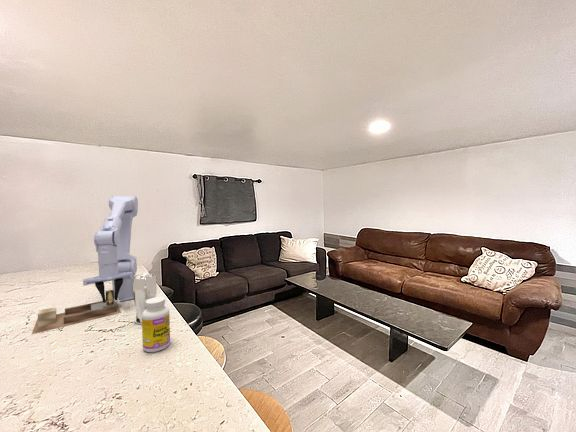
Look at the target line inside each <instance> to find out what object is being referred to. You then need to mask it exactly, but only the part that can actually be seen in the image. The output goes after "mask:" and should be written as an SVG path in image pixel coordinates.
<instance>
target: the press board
mask: <svg viewBox="0 0 576 432" xmlns="http://www.w3.org/2000/svg"><path fill="white" fill-rule="evenodd" d="M102 302H103V300H100V301H96V302H91V303H86V304H80V305H76V306H72V307H66V308H64V312H62V313H56V314H57V320H56V323H54V324H50V325H45V326H41V327H38V318H36V322H35V325H34V327H33V328H32V329H33V330H32V332H31V335H35V334H40V333H44V332H48V331H51V330H56V329H59V328H64V327H69V326H72V325H77V324H80V323H85V322H89V321H93V320H97V319H102V318H106V317H109V316H110V317H111V316H115V315H117V314H118V315H119V314H121V313H122V312H121V309H120V306H119V304H118V301H115V303H116V305H115V306H111V307H106V308H102V309H97V310H93V311H91V305H92V304H97V303H102Z"/></svg>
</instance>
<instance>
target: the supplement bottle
mask: <svg viewBox="0 0 576 432" xmlns="http://www.w3.org/2000/svg"><path fill="white" fill-rule="evenodd" d="M165 304H166V298H165V297H163V296H156V297H154V298H150V299H148V300H146V307H147V309H146V310H145V311H144V312H143V313H142V325H141V332H142V333H141V334H142V350H143V351H144V352H147V353H156V352H159V351H162V350H164V349H166V348H167V347H168V346H169V345H170V343H171V326H170V320H171V319H170V309H169V307H168V306H166V305H165Z"/></svg>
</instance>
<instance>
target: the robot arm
mask: <svg viewBox="0 0 576 432" xmlns="http://www.w3.org/2000/svg"><path fill="white" fill-rule="evenodd" d="M138 201H139V200H138V197H137V196H136V195H111V196H110V197H109V198H108V207H109V209H110V214H109V216H107V217H106V218H104V221H103V223H102V226H101V228H100V230H99V231H97V232H95V233H94V236H93V244H94V246H95V252H97V259H98V260H97V261H98V262H97V263H98V275H96V276H92V277H88V278H83V279H82V283H83V284H82V285H83V287H84V286H88V285H94V286H95V288H96V289H97V290H98V292H99V294H100V297H101V299H102V301H103V303H106V291H105V283H106V282H111V284H112V287H111V288H112V290H114V300H115V301H119V302H120V303H121V302H125V301H130V300H134V298H133V277H135V276H138V275H139V274H137V272H138V271H137V270H138V264H137V259H136V257H135V256H134V255H132V254H131V253H130V250H131V239H132V226H133V225H132V224H133V219H134V218H135V217H137V215H138V212H139V211H138V210H139V202H138ZM136 274H137V275H136Z"/></svg>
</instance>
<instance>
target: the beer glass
mask: <svg viewBox="0 0 576 432" xmlns="http://www.w3.org/2000/svg"><path fill="white" fill-rule="evenodd" d="M137 275H138V276H135V275H134V276H135V277H133V298H134V299H133V301H134V305H135V308H136V310H135V311H136V316H135V324H137V325H141V326H142V313H143V312H144V311H145V310H146V309H147V307H146V300H148V299H150V298H154V297H157V290H158V289H157V279H156V274H155V273H143V274H137Z"/></svg>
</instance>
